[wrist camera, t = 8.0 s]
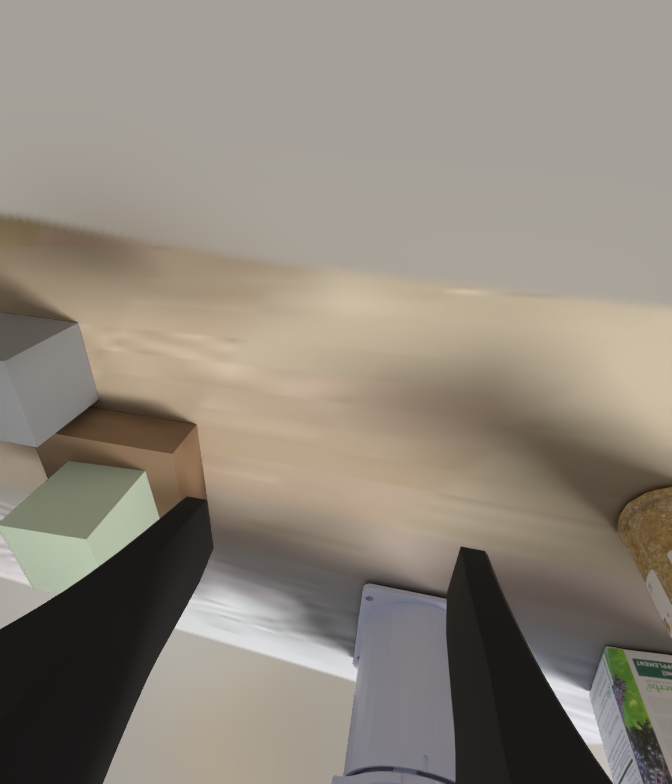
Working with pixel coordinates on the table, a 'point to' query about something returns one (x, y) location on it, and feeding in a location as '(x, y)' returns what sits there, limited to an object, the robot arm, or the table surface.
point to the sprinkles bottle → (652, 545)
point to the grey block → (41, 377)
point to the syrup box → (635, 714)
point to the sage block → (78, 522)
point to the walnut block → (133, 451)
